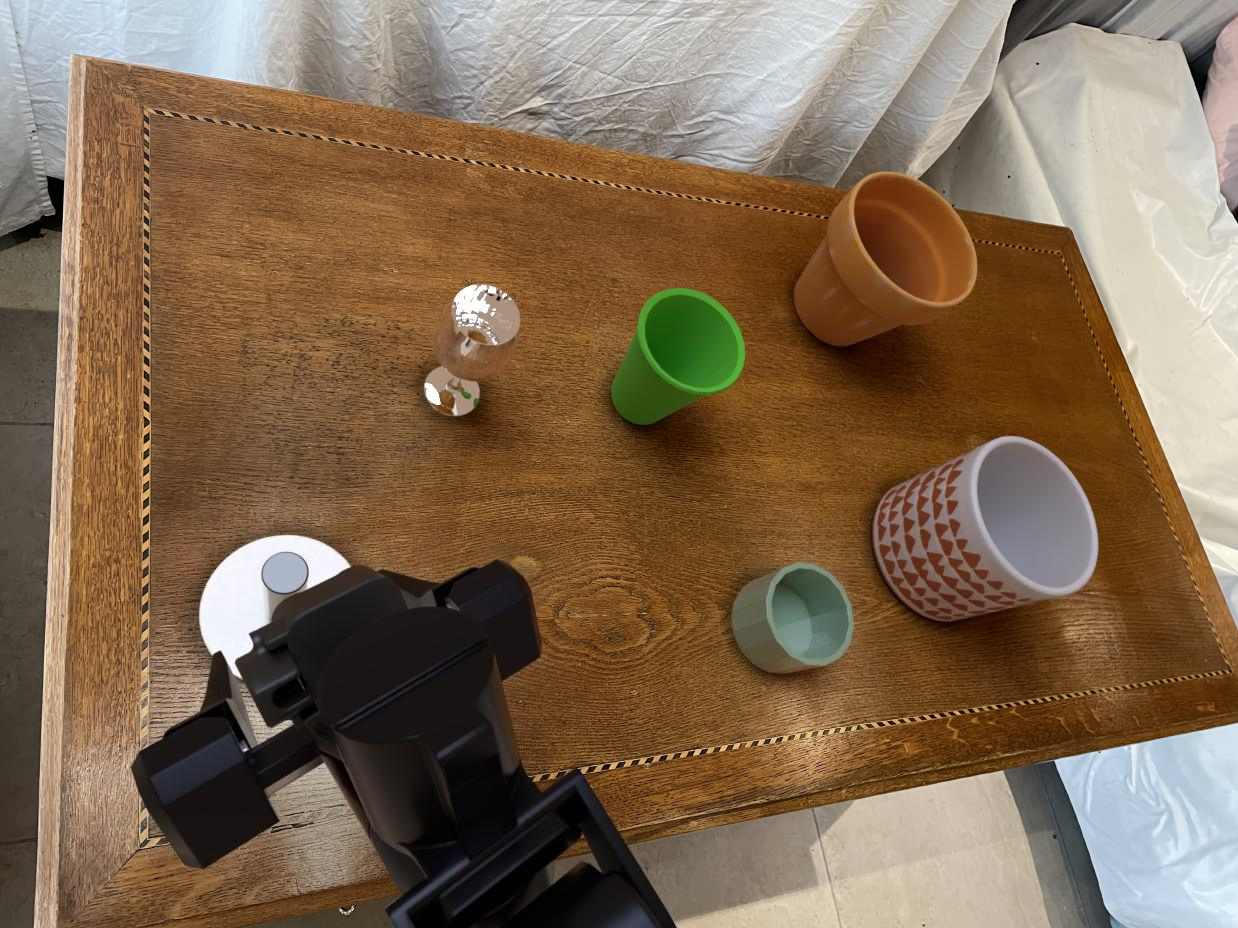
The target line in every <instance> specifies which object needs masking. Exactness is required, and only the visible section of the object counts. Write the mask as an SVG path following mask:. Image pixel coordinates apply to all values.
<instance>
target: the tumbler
mask: <svg viewBox="0 0 1238 928" xmlns="http://www.w3.org/2000/svg"><path fill="white" fill-rule="evenodd" d="M732 604H733V605H732V609H731V618H730V619H731V629H732V633H733V636H734V640H735V642H736V645H737V646H738V648H739V650H740V651H741V653H742V654H743V655H744V657H745V658H746V659H747V660H748V661H749V662H750V664H752V665H754V666H755V667H757V668H758V669H760V670H762V671H764V672H766V673H770V674H777V675H778V674H779V675H780V674H792V673H797V672H801V671H806V670H811V669H816V668H821V667H825V666H828V665H830V664H832V663H834V662H835V661H838V660H839V659H841V657H842V656H843V655H844V653H845V652H846V651H847V649H848V648H849V647H850V645H851V642H852V638H853V633H854V629H855V620H854V613H853V606H852V603H851V601H850V599H849V597H848V595H847V592H846V590H845V588H844V587H843V585H842V584H841V583H840V582H839V580H837V578H836V577H835V576H834V575H833V573H831V572H830V571H828V570H826V569H824V568H822V567H820V566H819V565H817V564H815V563H808V562H794V563H792V564H789V565H787V566H784V567H781V568H779V569H777V570H775V571H772V572H769V573H768V574H764V575H763V576H762V575H761V577H758V578H755V579H753V580H750V581H749V582H748V583H746V584H745V585H744V586H743V587H742V588H741V589H740V591H739V592H738V593H737V595H736V596H735V599H734V601H733V603H732Z"/></svg>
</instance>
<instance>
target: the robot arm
mask: <svg viewBox="0 0 1238 928" xmlns="http://www.w3.org/2000/svg"><path fill="white" fill-rule="evenodd" d="M249 636H250V638H251V640H252V642H253V648H252V650H251V651H250V652H249V653H247V654H245V655H243V656H241V657H239V658H237V659H236V660H235V665H236V667H237V669H238V671H239V673H240V675H241V677H242V679H243V680H242V681H243V683H244V685H245V687H246V689H247V691H248V692H249V694H250V696H251V699H252V700H253V702H254V705H255V706H256V708H257V710H258V712H259V714H260V716H261V718H262V720H263V722H264V724H265V725H266V728H268V729H273V728H276V727H277V726H278V725H280V724H283V723H284V722H287V721H291V723H292V724H291V725H290V726H288V727H286V728H285V729H283V730H281V731H279V732H278V733H276V734H274V735H273V736H271V737H269V738H267V739H266V740H264V741H262V742H260V743H258V742H257V737H256V735H255V731H254V728H253V725H252V722H251V719H250V716H249V713H248V710H247V706H246V704H245V700H244V697H243V693H242V691H241V687H240V684H239V682H238V680H237V679H236V678H237V677H235V676H234V675H233V673H232V671H231V669H230V667H229V665H228V663H227V661H226V659H225V657H224V655H223V653H222V651H221V650H220V651H218V652H216V653H214V654H213V657H212V656H211V658H212V659H211V662H210V667H209V673H208V679H207V683H206V690H205V694H204V699H203V700H202V704H201V707H200V709H199V711H198V712H196V713H194V714H193V715H190V716H189V717H187V718H184V719H183V720H182V721H180V722H178V723H175V724H174V725H171V726H170V727H169V728H167V729H166V731H165V732H164V733H163V735H162V738H161V739H159V740H157V741H155V742H153V743H151V744H149V745H148V746H146V747H144V748H142V749H140V750H139V751H138V753H137V754H136V757H135V758H134V759H133V762H132V763H131V766H130V770H131V774H132V776H133V779H134V782H135V786H136V789H137V792H138V794H139V796H140V798H141V801H142V803H143V804H144V807H145V809H146V811H147V812H148V814H149V815H150V817H151V819H152V820H153V821H154V822H155V824H156V826H157V827H158V828H159V830H160V831H161V833H162V834H163V836H164V837H165V839H166V840H167V842H168V844H169V845H170V846H171V848H172V849H173V851H174V852H175V854H176V855H177V857H178V858H179V859H180V861H181V862H182V864H183V865H184V866H185V867H190V868H193V869H194V868H195V869H199V870H205V869H207V868H208V867H210V866H212V865H213V864H214V863H216V862H218V861H219V860H221V859H223V858H224V857H226V856H228V855H229V854H230V853H232V852H233V851H235V850H237V849H238V848H240V847H242V846H243V845H245V844H247V843H248V842H250V841H252V840H253V839H254V838H256V837H258V836H259V835H261V834H262V833H264V832H266V831H267V830H269V829H271V828H272V827H273V826H275V825H277V824H278V823H280V822H281V819H280V817H279V815H278V813H277V811H276V809H275V807H274V805H273V803H272V801H271V796H273V795H274V794H275V793H277V792H278V791H280V790H282V789H284V788H286V786H288V785H290V784H292V783H294V782H295V781H297V780H298V779H300V778H302V777H304V776H305V775H307V774H308V773H310V772H311V771H313V770H314V769H315V770H316V768H318V767H320V766H321V765H323V764H324V765H325V766H326V768H327V770H328V771H329V773H330V775H331V777H332V778H333V780H334V781H335V783H336V785H337V786H338V789H339V790H340V792H341V794H342V795H343V797H344V799H345V800H346V802H347V804H348V805H349V807H350V809H351V810H352V812H353V814H354V816H355V817H356V819H357V821H358V823H359V825H360V826H361V827H362V829H363V831H364V833H365V834H366V836H367V838H368V839H369V841H370V842H371V843H370V844H372V846H373V848H374V849H375V851H376V853H377V854H378V856H379V858H380V860H381V862H382V863H383V865H384V867H385V869H386V870H387V872H388V874H389V876H390V877H391V879H392V881H393V883H394V884H395V886H396V887H397V889H398V890H399V892H400V894H401V895H400V896H399V897H397V898H396V899H394V900H393V901H392V902H390V903H389V904H388V905H386V906H384V907H383V911H384V912H385V915H386V917H387V920H388V921H389V923H390V925H391V928H678V927H677V925H676V923H675V921H674V919H673V917H672V916H671V914H670V912H669V910H668V909H667V908H666V906H665V904H664V902H663V901H662V899H661V898H660V896H659V894H658V893H657V891H656V889H655V888H654V886H653V885H652V883H651V882H650V879H649V878H648V877H647V875H646V874H645V872H644V871H643V869H642V867H641V865H640V863H639V862H638V860H637V859H636V857H635V856H634V854H633V852H632V851H631V849H630V847H629V846H628V844H627V842H626V841H625V839H624V838H623V836H622V835H621V833H620V831H619V830H618V828H617V827H616V825H615V823H614V822H613V820H612V818H611V817H610V815H609V813H608V812H607V811H606V808H605V807H604V806H603V803H601V801H600V799H599V797H598V796H597V794H596V793H595V791H594V789H593V788H592V786H591V784H590V783H589V781H588V780H587V778H586V776H585V775H584V773H583V772H582V771H581V769H579V768H578V767H573V768H572V769H571V770H569V771H567V773H565V774H564V775H563V776H561V777H559V779H557V780H556V781H554V782H553V783H552V784H551V785H549V786H548V787H546V788H545V789H544V790H541V789H540V788H539V786H538V785H537V784H536V783H535V782H534V781H533V780H532V778H531V777H530V775H528V773H527V772H526V770H525V768H524V766H523V760H522V756H521V752H520V749H519V745H518V741H517V737H516V733H515V729H514V725H513V721H512V716H511V713H510V709H509V705H508V701H507V698H506V694H505V689H504V684H503V682H504V681H506V680H507V679H509V678H510V677H512V676H514V675H516V674H517V673H519V672H520V671H521V670H523V669H525V668H527V667H528V666H530V665H531V664H532V663H534V662H536V661H537V660H539V659H540V658H541V655H542V649H543V641H542V640H543V639H542V635H541V630H540V625H539V621H538V616H537V611H536V607H535V602H534V597H533V592H532V589H531V587H530V585H529V583H528V582H527V580H526V577H525V576H524V575H523V574H521V573H520V572H519V571H518V570H517V569H516V568H514V566H512V565H511V564H510V563H508V561H504V560H501V559H495V560H493V561H491V562H488V563H487V564H485V565H483V566H481V567H478V566H477V567H476V566H471V567H469V568H466V569H465V570H463V571H461V572H459V573H458V574H455V575H453V576H452V577H450V578H448V579H446V580H444V581H442V582H436V581H430V580H425V579H422V578H421V579H420V578H417V577H414V576H409V575H406V574H403V573H398V572H395V571H391V570H388V569H384V568H381V569H379V570H375V569H373V568H372V567H370V566H367V565H363V564H356V565H351V567H349V568H347V569H345V570H343V571H341V572H340V573H339V574H337V575H335V576H333V577H331V578H329V579H327V580H325V581H323V582H321V583H319V584H317V585H315V586H313V587H311V588H309V589H307V590H305V591H303V592H300V593H296V594H294V595H292V596H290V597H288V598H286V599H284V600H283V601H281V602H280V603H279V604H278V605H277V607H276V608H275V609H274V612H273V614H272V620H271V623H269V624H267V625H265V626H263V627H261V628H259V629H257V630H255V631H253V632H251V633H249ZM582 836H583V837H584V840H585V841H586V843H587V846H588V848H589V849H590V851H591V853H592V855H593V858H594V859H595V861H596V863H597V866H598V867H599V869H600V870H599V869H598V868H596V867H595V866H594V865H592V864H591V863H590V862H586V861H582V860H581V861H579V862H577V864H576V865H574V866H573V867H572V868H571V869H570V870H568V871H567V872H566V873H565V874H563V875H562V876H560V877H559V878H558V879H557V880H556V881H555V882H554V879H555V860H556V859H558V858H559V857H560V856H561V855H562V854H564V853H565V852H566V851H567V850H569V849H570V848H571V847H572V846H574V845H575V844H576V843H577V842H578V841H579V840H580V839H581V838H582Z"/></svg>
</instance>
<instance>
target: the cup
mask: <svg viewBox="0 0 1238 928" xmlns="http://www.w3.org/2000/svg"><path fill="white" fill-rule="evenodd" d="M745 345H746V344H745V341H744V337H743V334H742V331H741V329H740V327H739V325H738V323H737V322H736V319H734V317H733V315H731V313H730V312H729V311H728V310H727V309H726V307H724V306H723V305H722V304H720V303H719V302H718V301H717V300H716V299H714V298H713V297H712V296H709V295H707V294H706V293H704V292H701V291H699V290H695V289H693V288H684V287H675V288H668V289H665V290H662V291H659V292H656V293H655V294H653V296H651V297H650V298H649V299H648V300H646V302H645V304H644V305H643V306H642V308H641V310H640V313H639V317H638V320H637V329H636V331H635V333H634V335H633V338H632V339H631V341H630V344H629V346H628V348H627V351H626V353H625V355H624V357H623V359H622V361H621V364H620V365H619V368H618V370H617V372H616V374H615V376H614V379H613V381H612V384H611V387H610V396H611V401H612V405H613V407H614V409H615V411H616V412H617V413H618V414H619V416H620V417H622V418H623V419H624V420H625V421H628V422H630V423H632V424H635V425H642V426H643V425H644V426H648V425H652V424H654V423H657V422H658V421H660V420H662V419H664V418H666V417H668V416H670V415H671V414H674V413H676V412H677V411H679V410H680V409H683V408H684V407H686V406H689V405H690V404H693V403H694V402H696V401H698V400H700V399H702V398H704V397H705V396H710V395H716V394H720V393H722V392H724V391H726V390H728V389H730V388H731V387H732V386H733V385H734V384H735V383H736V382H737V381H738V379H739V378H740V377H741V374H742V372H743V370H744V365H745V360H746V346H745Z"/></svg>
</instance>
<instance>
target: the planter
mask: <svg viewBox="0 0 1238 928" xmlns="http://www.w3.org/2000/svg"><path fill="white" fill-rule="evenodd" d="M871 544H872V551H873V554H874V558H875V561H876V564H877V567H878V569H879V572H880V574H881V575H882V578H883V579H884V581H885V583H886V584H887V586H888V587H889V589H890V590H891V591H892V593H893V594H894V595H895V596H896V598H898V600H899V601H900V602H902V603H903V605H905V606H906V607H908V608H909V609H910V610H911V611H913V612H915V613H916V614H918V615H920V616H922V617H924V618H927V619H929V620H932V621H936V622H937V621H938V622H955V621H960V620H964V619H968V618H973V617H978V616H982V615H987V614H990V613H995V612H999V611H1004V610H1009V609H1012V608H1017V607H1021V606H1026V605H1030V604H1033V603H1038V602H1043V601H1047V600H1052V599H1057V598H1060V597H1065V596H1068V595H1071V594H1074V593H1076V592H1078V591H1080V589H1083V587H1085V585H1086V584H1088V582H1089V581H1090V579H1091V578H1092V576H1093V574H1094V572H1095V569H1096V566H1097V563H1098V557H1099V533H1098V528H1097V522H1096V518H1095V515H1094V512H1093V509H1092V506H1091V503H1090V502H1089V498H1088V496H1087V494H1086V493H1085V491H1084V489H1083V487H1082V485H1081V483H1080V482H1079V481H1078V480H1077V478H1076V476H1075V475H1074V474H1073V472H1072V471H1071V470H1070V468H1068V466H1067V465H1066V464H1065V462H1063V461H1062V459H1060V458H1059V457H1058V456H1056V455H1055V454H1054V453H1053V452H1052V451H1051V450H1049V449H1048V448H1046V447H1044V446H1043V445H1042V444H1040V443H1038V442H1036V441H1034V440H1031V439H1028V438H1025V437H1022V436H1016V435H1009V436H1008V435H1005V436H1000V437H997V438H994V439H992V440H990V441H988V442H985V443H984V444H981V445H979V446H977V447H975V448H973V449H971V450H969V451H967V452H964V453H962V454H959V455H957V456H956V457H954V458H951V459H950V460H947V461H944V462H943V463H941V464H939V465H937V466H935V467H932V468H930V469H928V470H926V471H923V472H921V473H919V474H918V475H915V476H913V477H911V478H909V479H907V480H905V481H902V482H901V483H898V484H897V485H895V486H893V487H891V488H890V489H889V490H888V491H886V493H884V494H883V496H882V497H881V499H880V500H879V502H878V503H877V505H876V508H875V510H874V513H873V516H872V522H871Z"/></svg>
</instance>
